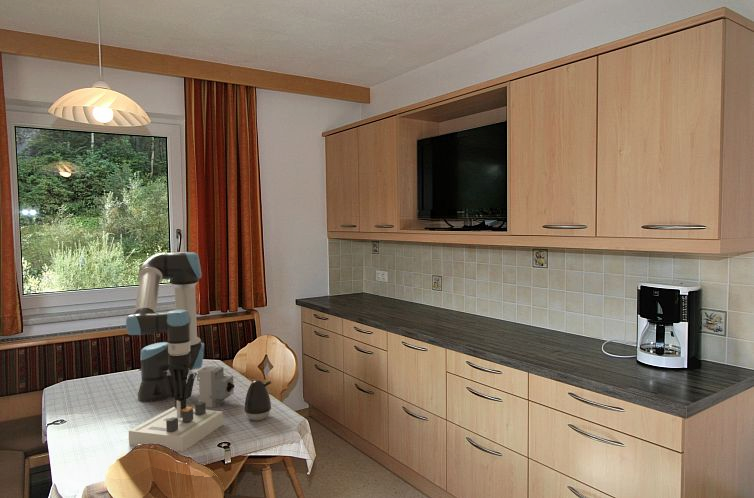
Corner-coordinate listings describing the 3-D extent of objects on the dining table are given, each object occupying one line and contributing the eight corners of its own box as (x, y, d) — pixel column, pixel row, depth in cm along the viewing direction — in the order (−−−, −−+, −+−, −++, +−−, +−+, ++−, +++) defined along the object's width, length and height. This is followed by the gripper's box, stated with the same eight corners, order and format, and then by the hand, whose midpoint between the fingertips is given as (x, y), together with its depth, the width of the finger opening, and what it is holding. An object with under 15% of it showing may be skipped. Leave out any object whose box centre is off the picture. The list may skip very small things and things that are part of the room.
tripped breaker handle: (182, 422, 184) (182, 409, 184) (187, 418, 187) (187, 406, 187) (188, 422, 183) (187, 410, 183) (193, 419, 186) (192, 407, 186)
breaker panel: (129, 444, 178) (128, 419, 178) (174, 419, 201) (173, 396, 201) (182, 451, 172) (181, 425, 171) (223, 424, 195) (222, 401, 194)
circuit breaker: (229, 408, 212) (227, 372, 211) (198, 406, 215) (196, 371, 214) (237, 401, 220) (236, 367, 219) (207, 400, 222) (206, 366, 222)
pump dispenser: (272, 421, 197) (271, 383, 196) (244, 424, 195) (243, 385, 194) (271, 412, 207) (270, 375, 206) (245, 414, 205) (244, 377, 204)
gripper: (157, 354, 183) (158, 419, 184) (187, 357, 179) (189, 422, 180) (171, 349, 190) (172, 411, 191) (200, 351, 186) (202, 415, 187)
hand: (180, 417), depth 186 cm, fingers closed
